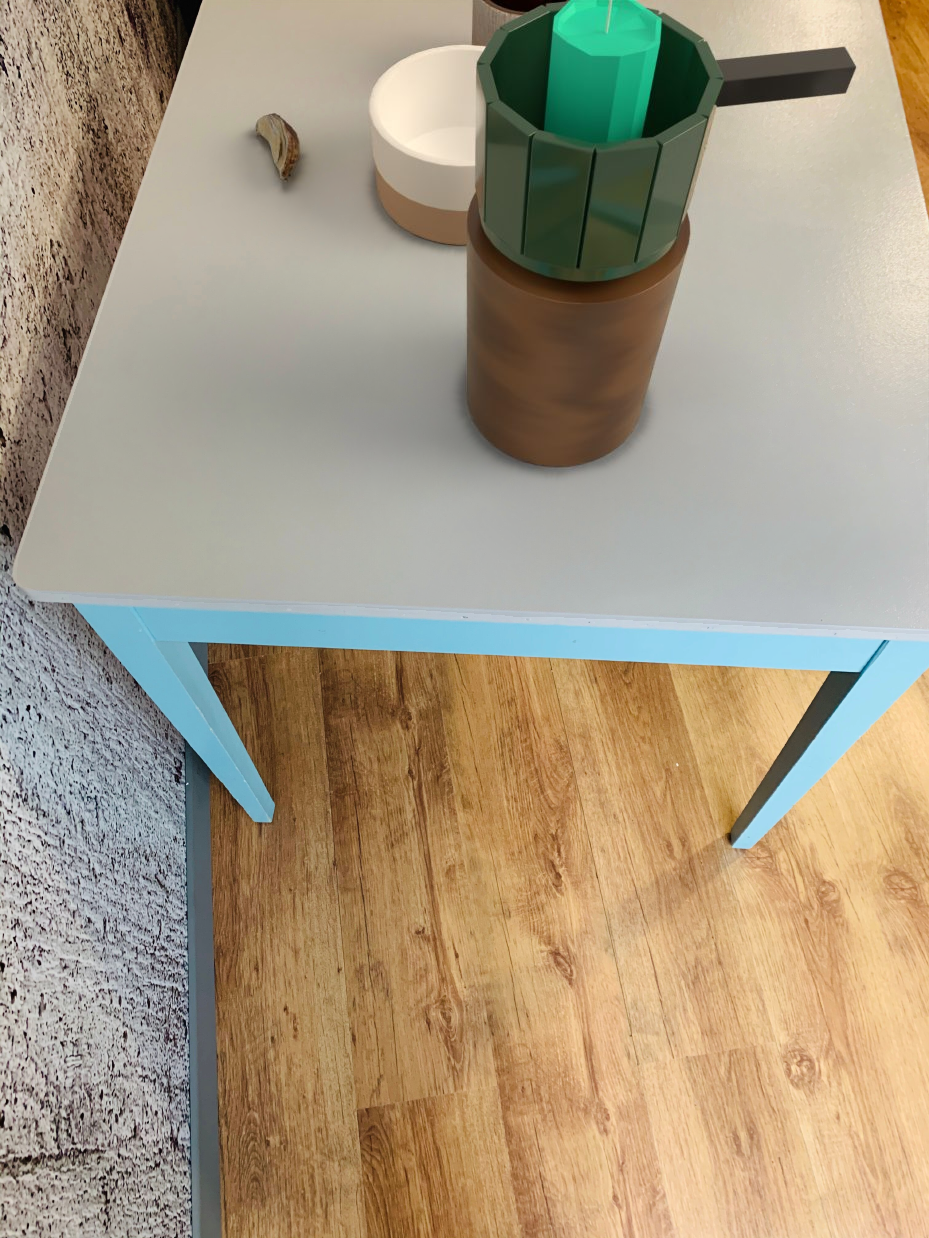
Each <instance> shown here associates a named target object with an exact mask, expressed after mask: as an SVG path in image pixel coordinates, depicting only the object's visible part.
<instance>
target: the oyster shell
mask: <svg viewBox="0 0 929 1238" xmlns="http://www.w3.org/2000/svg"><path fill="white" fill-rule="evenodd" d="M254 133H255V134H256V135H258V136H262V137H263V138H264V139H265V140H266V141H267V142H268V143H269V147H270V150H271V156H272V159H273V163H274V164H275V165H276V167H277V169H278V171H279V178H280V179H281V180H284V181H285V182H286V183H287V184H288V183H289V179H288V177H291V173H292V172H293V170H294V169H295V167H296V165H297V162H298V161H299V158H300V157H299V156H300V151H301V146H300V138H299V136H298V133H297V131H296V130H295V129H294V128H293V127H292V126H291V124H289V123H288V122H287V121H286V120H285V119H284V118H283V117H281V115H279V114H277V113H275V112H274V113H269V114H266V115H263V116H260V117H259V119H257V121H256V122H255V130H254Z"/></svg>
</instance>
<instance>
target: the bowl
mask: <svg viewBox="0 0 929 1238" xmlns="http://www.w3.org/2000/svg"><path fill="white" fill-rule="evenodd" d="M484 49H485V46H474V45H472V44H459V45H458V44H456V45H455V44H453V45H452V44H451V45H444V46H437V47H431V48H428V49H425V50H422V51H419V52H415V53H413V54H411V55H409V56H406V57H404V58H402V59H400V60H399V61H397V62H396V63H394V64H393V65H392V66H390V67H389V68H388V69H386V71H384V73H383V74H382V75H380V77H379V78H378V79H377V81H376V82H375V85H374V86H373V88H372V89H371V92H370V93H371V94H370V97H369V101H368V118H369V127H370V137H371V145H372V155H373V161H374V171H375V180H376V189H377V195H378V197H379V201H380V203H381V205H382V208H384V210H385V211H386V214H388V216H389V217H390V218H391V220H393V221H394V222H395V223H396V224H397V225H399V226H400V227H401V228H403V229H405V230H406V231H408V232H409V233H411V234H413V235H416V236H418V237H420V238H422V239H425V240H428V241H431V242H432V241H433V242H436V243H440V244H445V245H446V244H447V245H456V246H457V245H459V246H465V245H466V246H467V215H468V209H469V206H470V202H471V200H472V198H473V196H474V194H475V192H476V189H475V136H476V66H477V61H478V59H479V57H480V56H481V54H482V52H483V51H484Z"/></svg>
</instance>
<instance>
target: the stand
mask: <svg viewBox="0 0 929 1238" xmlns="http://www.w3.org/2000/svg"><path fill="white" fill-rule="evenodd" d="M477 206H478V198H477V193H476V192H475V194H474V196H473V198H472V200H471V202H470V206H469V209H468V215H467V245H466V403H467V407H468V412H469V414H470V416H471V419H472V421H473V423H474V425H475V427H476V428H477V429H478V431H479V432H480V434H482V435H483V437H484V438H485V439H486V440H487V441H488V443H489V442H490V444H491V445H492V446H494V447H496V448H497V449H498V450H500V451H501V452H503V453H505V454H506V455H509V456H510V457H512V458H515V459H517V460H519V461H521V462H525V463H529V464H532V465H538V466H542V467H543V466H544V467H556V468H558V467H559V468H560V467H573V466H579V465H583V464H587V463H590V462H593V461H596V460H599V459H600V458H603V457H605V456H607V455H608V454H610V453H612V452H614V451H615V450H616V449H617V448H618V447H620V446H621V445H622V444H623V443H625V441H626V440H627V439H628V438H629V437H630V435H631V434H632V433H633V431H634V430H635V428H636V426H637V424H638V423H639V419H640V416H641V413H642V409H643V406H644V402H645V398H646V397H647V396H646V395H647V392H648V388H649V384H650V381H651V378H652V375H653V370H654V367H655V364H656V360H657V356H658V354H659V349H660V346H661V342H662V339H663V336H664V333H665V332H664V331H665V329H666V325H667V321H668V318H669V315H670V311H671V307H672V304H673V300H674V298H675V294H676V290H677V287H678V283H679V280H680V277H681V273H682V270H683V265H684V263H685V259H686V255H687V251H688V248H689V245H690V240H691V239H690V238H691V223H690V221H691V220H690V217H689V213H688V212H687V213H686V216H685V218H684V222H683V226H682V229H681V232H680V234H679V236H678V238H677V240H676V242H675V243H674V245H673V246H672V247H671V249H670V250H669V251H668V252H667V253H666V254H665V255H664V256H663V257H662V258H660V259H659V260H658V261H656V262H655V263H654V264H652V265H650V266H648V267H647V268H645V269H643V270H641V271H638V272H636V273H633V274H631V275H628V276H624V277H621V278H617V279H611V280H605V281H593V282H580V281H568V280H561V279H556V278H552V277H547V276H544V275H541V274H538V273H535V272H533V271H531V270H528V269H526V268H524V267H522V266H520V265H518V264H517V263H515V262H513V261H512V260H510V259H509V258H508V257H506V256H505V255H504V254H502V253H501V252H500V251H499V250H498V249H497V248H496V247H495V246H494V245H493V243H492V242H491V241H490V240H489V238H488V237H487V235H486V233H485V232H484V230H483V228H482V225H481V222H480V219H479V215H478V208H477Z"/></svg>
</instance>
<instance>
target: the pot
mask: <svg viewBox="0 0 929 1238" xmlns="http://www.w3.org/2000/svg"><path fill="white" fill-rule="evenodd" d="M567 3H568V2H561V3H551V4H546V7H544V6H543V5H541V6H539V7H537V8H535V9H533V10H531V11H529V12H528V13H526V14H524V15H522V16H520V17H518V18H516V19H514V20H512V21H510V22H508V23H506V24H504V25H502V26H500V28H499V29H496V31H495V32H494V34H493V36H492V37H491V39H490V41H489V42H488V44H487V46H486V47H485V49H484V51H483V52H482V54H481V56H480V57H479V59H478V61H477V66H476V136H475V189H476V193H477V198H478V206H477V208H478V215H479V219H480V222H481V225H482V228H483V230H484V232H485V233H486V235H487V237H488V238H489V240H490V241H491V242H492V243H493V245H494V246H495V247H496V248H497V249H498V250H499V251H500V252H501V253H502V254H504V255H505V256H506V257H508V258H509V259H510V260H512V261H513V262H515V263H517V264H518V265H520V266H522V267H524V268H526V269H528V270H531V271H533V272H535V273H538V274H541V275H544V276H547V277H552V278H556V279H561V280H568V281H580V282H593V281H605V280H611V279H617V278H621V277H624V276H628V275H631V274H633V273H636V272H638V271H641V270H643V269H645V268H647V267H648V266H650V265H652V264H654V263H655V262H656V261H658V260H659V259H660V258H662V257H663V256H664V255H665V254H666V253H667V252H668V251H669V250H670V249H671V247H672V246H673V245H674V243H675V242H676V240H677V238H678V236H679V234H680V232H681V229H682V226H683V222H684V218H685V216H686V213H688V210H689V208H690V205H691V203H692V199H693V195H694V192H695V188H696V184H697V180H698V177H699V173H700V169H701V166H702V162H703V159H704V155H705V152H706V149H707V144H708V141H709V136H710V134H711V130H712V126H713V122H714V119H715V115H716V112H717V108H722V107H734V106H743V105H752V104H761V103H762V104H763V103H771V102H780V101H789V100H790V101H791V100H798V99H808V98H817V97H825V96H836V95H843V94H844V95H845V94H846V93H847V92H848V89H849V87H850V84H851V82H852V80H853V76H854V74H855V72H856V69H857V65H856V64H855V61H854V60H853V58H852V56H851V55H850V53H849V51H848V50H847V48H846V46H838V47H837V46H836V47H828V48H827V47H826V48H819V49H808V50H799V51H789V52H779V53H770V54H761V55H751V56H742V57H732V58H723V59H716V58H715V56H714V55H715V54H714V53H713V51H712V49H711V47H710V44H709V43H708V41H707V40H705V38H704V37H702V36H701V35H700V34H698V33H697V32H695V31H693V29H690V28H689V27H687V26H686V25H684V24H683V23H682V22H680V21H678V20H676V19H675V18H674V17H672V16H670V15H669V14H667V13H666V12H663V11H662V12H660V10H659V9H655V8H649V7H645V6H644V7H645V8H647V9H648V10H650V11H651V12H653V13H654V14H655V15H657V16H658V17H660V18H661V19H662V21H661V37H660V46H659V51H658V56H657V61H656V66H655V71H654V76H653V81H652V86H651V91H650V96H649V102H648V107H647V112H646V117H645V122H644V127H643V132H642V137H641V139H632V140H623V141H614V142H605V143H596V144H594V143H590V142H586V141H582V140H578V139H574V138H570V137H566V136H562V135H558V134H554V133H549V132H545V131H544V125H545V113H546V102H547V90H548V79H549V68H550V56H551V45H552V33H553V23H554V16H555V15H556V14H557V13H558V12H559V11H560V10H561V9H562V8H563V7H564V6H565V5H566V4H567Z"/></svg>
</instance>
